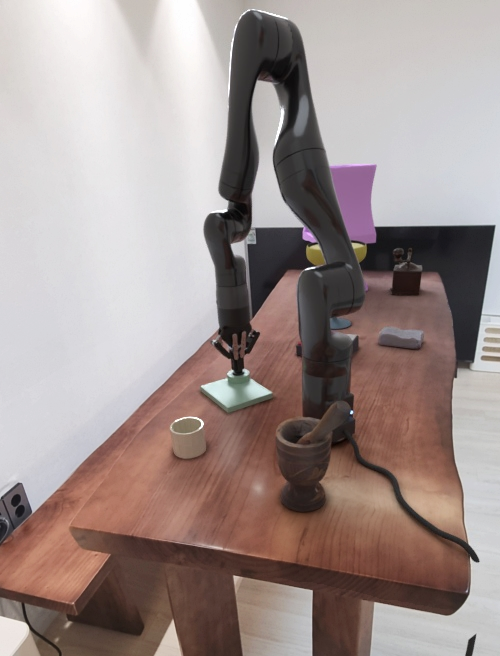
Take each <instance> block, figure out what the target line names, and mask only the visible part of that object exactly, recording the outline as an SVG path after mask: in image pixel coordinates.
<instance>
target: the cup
mask: <svg viewBox="0 0 500 656" xmlns="http://www.w3.org/2000/svg"><path fill="white" fill-rule="evenodd" d="M169 433H170V439H171V445H172V452H173V454H174V456H176V457H177V458H180V459H185V460H189V459H190V460H191V459H194V458H197V457H200V456H202V455H203V454H204V453H205V452H206V451H207V442H206V441H207V440H206V432H205V425H204V421H203V420H202V419H201V418H198V417H194V416H185V417H180V418H178V419H175V420H174V421H173V422H171V423H170V425H169Z"/></svg>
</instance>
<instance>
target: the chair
mask: <svg viewBox="0 0 500 656" xmlns="http://www.w3.org/2000/svg"><path fill="white" fill-rule="evenodd" d="M329 166H330V169H331V173H332V178H333V183H334V188H335V191H336V195H337V199H338V202H339V206H340V209H341V213H342V216H343V220H344V223H345V226H346V229H347V232H348V235H349V237H350V240H355V241H361V242H364V243H366V244H375V243H376V244H377V231H376V227H375V223H374V217H373V211H372V210H373V209H372V192H373V186H374V181H375V176H376V170H377V167H378V166H377V164H375V163H374V164H373V163H353V164H337V165H329ZM302 240H304V241H307V242H310V243H314V242H317V241H316V240H315V238H314V237H313V235H312V234H311V233H310V232H309V231H308V229H307V228H306V227H305V226H304V225H303V229H302ZM364 283H365V292H367V291H369V285H368V284H367V282H366V280H365V279H364Z"/></svg>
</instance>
